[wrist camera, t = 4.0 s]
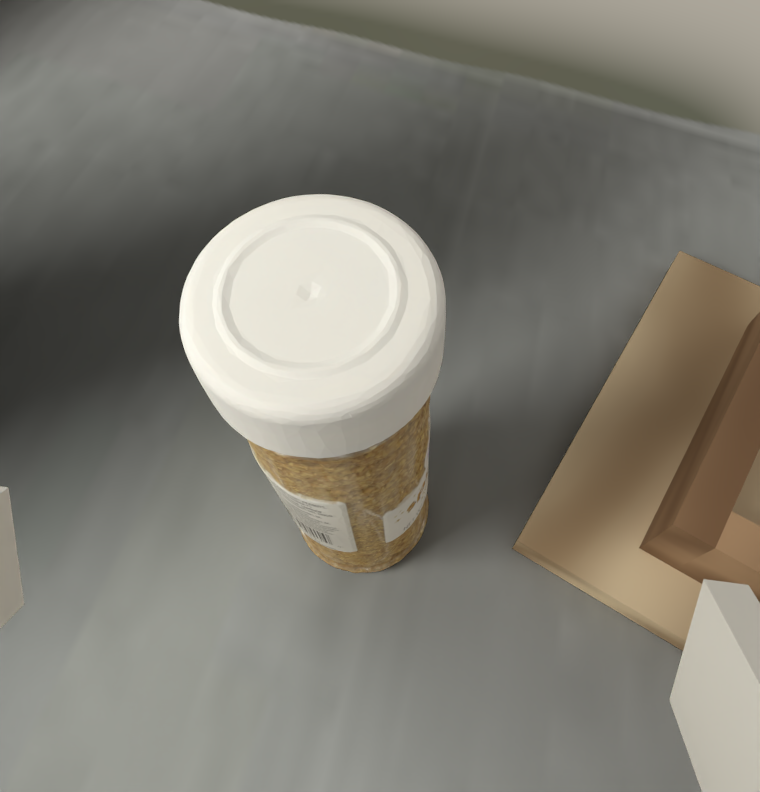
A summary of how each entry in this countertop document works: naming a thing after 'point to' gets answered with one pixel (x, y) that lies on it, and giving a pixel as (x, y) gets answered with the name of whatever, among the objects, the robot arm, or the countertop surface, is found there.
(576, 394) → the countertop surface
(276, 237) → the sprinkles bottle
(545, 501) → the socket board
